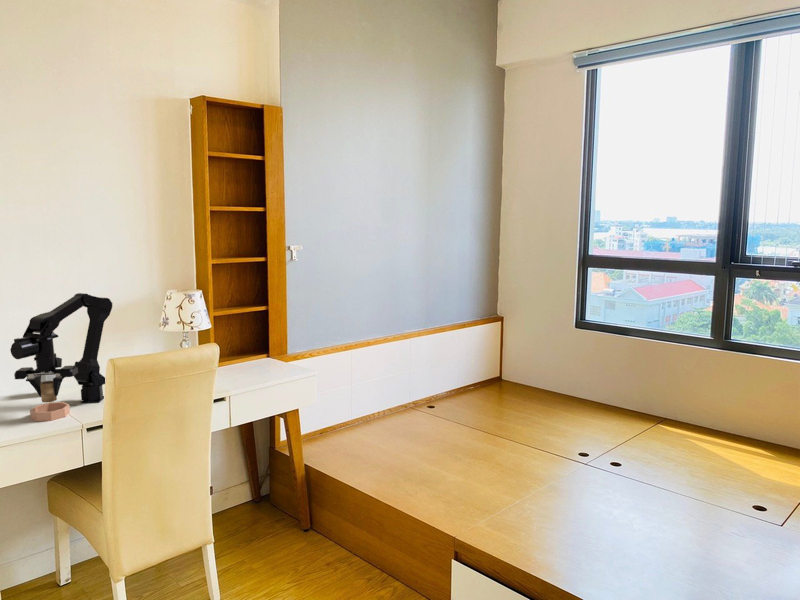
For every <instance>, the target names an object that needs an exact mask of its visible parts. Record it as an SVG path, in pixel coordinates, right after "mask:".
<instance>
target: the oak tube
mask: <svg viewBox="0 0 800 600" xmlns="http://www.w3.org/2000/svg"><path fill="white" fill-rule="evenodd" d="M40 388H41V397H40V398H41V402H42V403H44V404H46V403H54V402H55V401H57V400H58V398H57V397H58V395H57V396H55V393H54V384H53V381H44V382H41V383H40Z"/></svg>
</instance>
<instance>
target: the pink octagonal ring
mask: <svg viewBox="0 0 800 600" xmlns="http://www.w3.org/2000/svg"><path fill="white" fill-rule="evenodd" d="M29 413H30V419H31V421H32V420H33V421H35V422H48V421H49V422H50V421H55V420H59V419H63V418H65V417H67V416H68V415H69V414H71V409H70V404H69V403H67V402H63V401H58V402H46V403H43V404H38V405H35V406H34V407H32V408H31V409H29Z"/></svg>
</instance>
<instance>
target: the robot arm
mask: <svg viewBox="0 0 800 600" xmlns="http://www.w3.org/2000/svg"><path fill="white" fill-rule="evenodd" d="M83 307H84V308H86V313H87V316H88V317H89V318H88V319H89V321H88V322H89V323H88V329H87V333H86V336H85V337H86V339H85V342H84V348H83V353H82V358H80V360H79V361H75V362H74V365H64V366H63V367H62V365H63V364H62V363H63V362H62V361H63V358H61V357H57V353H56V352H55V349H54V339H55V338H56V339H57V338H58V337H59V335H58V334H56V333H55V332H54V331H55V330H56V329H57V328H59V325H60V323H61V322H62V321H63V320H64V319H66V318H68V317H69V316H71V315H72V314H74V313H75V312H77V311H78V310H80V309H81V308H83ZM112 309H113V302H112V301H111V299H110V298H108V297H102V296H101V297H98V296H95V295H91V294H88V293H81V292H77V293H75V294H74V295H73V296H72V297H70V298H69V299H67V300H66V301H64V302H63V303H61V304H59V305H58V306H56V307H55V308H53V309H51V311H47V312H43V313H40V314H37V315H35V316H33V317H31V318H30V319H29V323H28V325H27V326H26V329H25V331H24V332H23V335H22V337H21V338H20V337H18V338H14V339H13V343H12V344H11V347H10V349H9V351H10V354H11V356H12V357H13V358H14V359H16V360H21V359H26V358H29V357H33V356H34V357H33V361H35V363H36V365H35V366H36V368H35V369H34V368H33V367H32V366H30V367H29V366H28V367H21V368H19V369H17V370H16V371H15V372H14V380H25V382H29V384H30V385H31V386H32V387H33V388H34V390H35V391H36V392H37V394H38V396H39V397H40V398H41V388H40V383H41V375H55V376H56V377H55V378H53V384H54V393H55V396H57V397H58V395H59V391H60V389H61V385H62V382H63V381H64V379H65V378H74V379H75V380H76V382H77V385H79V386H81V389H80V397H81V402H80V403H82V404H89V403H90V404H91V403H100V402H101V401H103V399H105V398H104V396H105V395H104V391H103V385H105V384H106V382H105V378H106V377H105V376H104V375H103V374H101V372H100V370H101V367H100V364H99V361H98V357H99V351H100V344H101V340H102V335H103V329H104V324H105V321H106V320H107V319H108V318H109V317H110V315H111V311H112Z"/></svg>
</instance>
